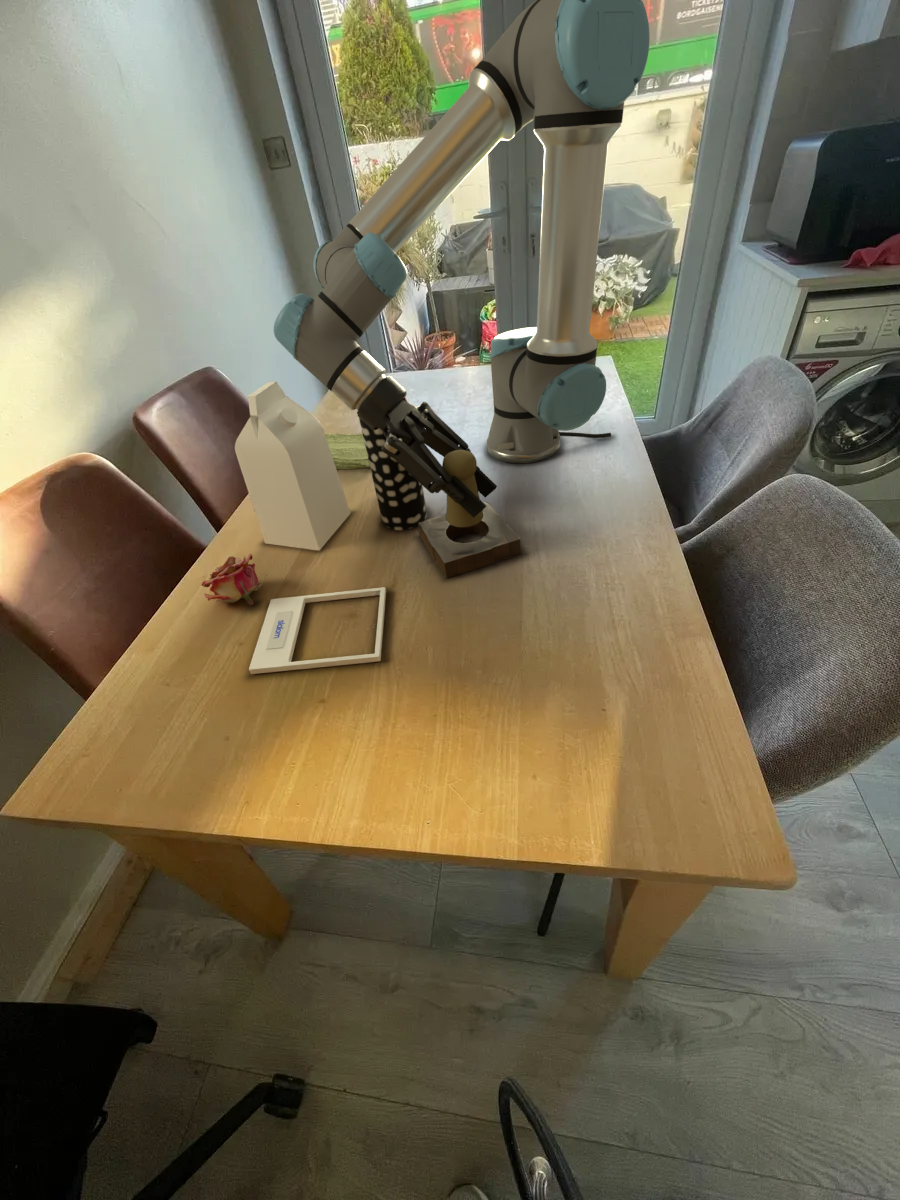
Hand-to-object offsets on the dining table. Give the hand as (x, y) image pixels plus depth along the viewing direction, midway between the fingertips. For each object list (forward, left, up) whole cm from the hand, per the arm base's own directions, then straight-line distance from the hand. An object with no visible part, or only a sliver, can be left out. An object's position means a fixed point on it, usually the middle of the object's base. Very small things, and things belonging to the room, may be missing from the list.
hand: (485, 501), depth 86 cm
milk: (+27, -22, -9) cm, 36 cm away
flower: (+41, -7, -9) cm, 42 cm away
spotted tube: (+10, -16, -9) cm, 21 cm away
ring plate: (+3, -2, -9) cm, 10 cm away
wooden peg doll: (+3, -2, -3) cm, 5 cm away
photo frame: (+30, +7, -9) cm, 32 cm away
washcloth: (+14, -47, -9) cm, 50 cm away
